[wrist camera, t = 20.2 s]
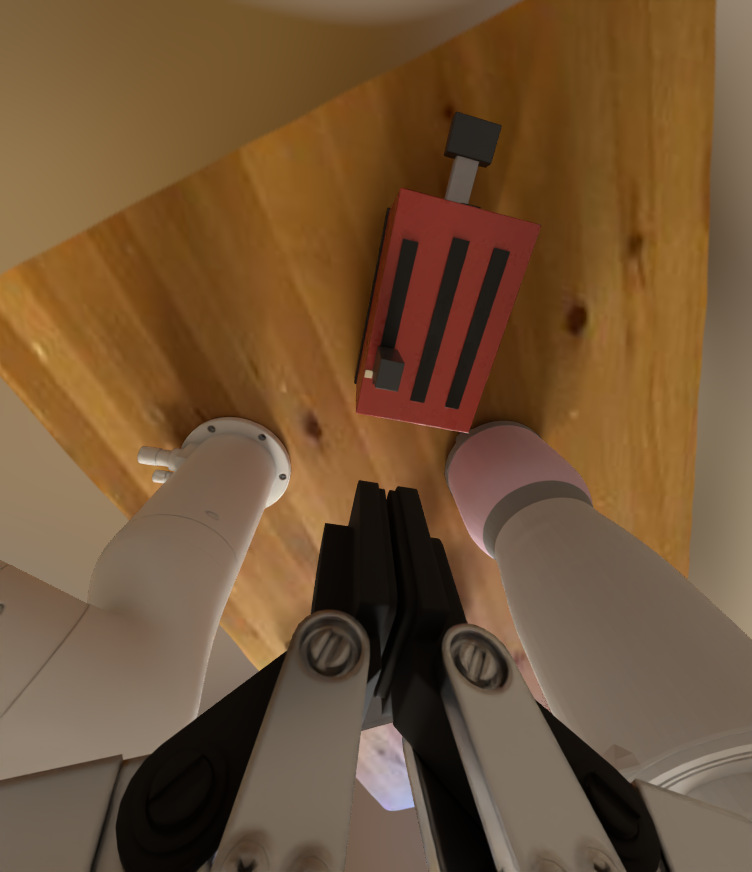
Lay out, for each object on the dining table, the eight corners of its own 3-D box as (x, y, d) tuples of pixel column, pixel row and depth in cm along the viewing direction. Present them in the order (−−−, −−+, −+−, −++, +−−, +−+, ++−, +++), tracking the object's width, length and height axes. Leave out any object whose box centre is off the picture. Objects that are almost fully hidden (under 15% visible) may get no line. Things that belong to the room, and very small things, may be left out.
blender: (430, 495, 45) (560, 897, 16) (457, 408, 40) (718, 764, 11) (542, 511, 47) (840, 895, 18) (581, 429, 42) (1082, 781, 13)
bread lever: (430, 207, 29) (433, 205, 27) (452, 117, 26) (456, 110, 25) (472, 218, 29) (476, 216, 28) (496, 130, 27) (502, 124, 26)
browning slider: (372, 370, 27) (374, 388, 23) (377, 345, 26) (380, 358, 22) (392, 374, 27) (397, 392, 23) (397, 349, 27) (405, 363, 22)
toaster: (354, 381, 38) (352, 415, 29) (386, 208, 31) (398, 182, 22) (444, 398, 39) (470, 436, 30) (494, 236, 33) (546, 222, 24)
